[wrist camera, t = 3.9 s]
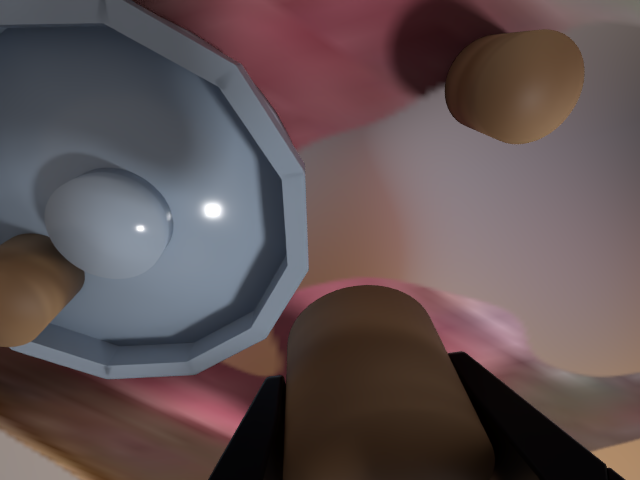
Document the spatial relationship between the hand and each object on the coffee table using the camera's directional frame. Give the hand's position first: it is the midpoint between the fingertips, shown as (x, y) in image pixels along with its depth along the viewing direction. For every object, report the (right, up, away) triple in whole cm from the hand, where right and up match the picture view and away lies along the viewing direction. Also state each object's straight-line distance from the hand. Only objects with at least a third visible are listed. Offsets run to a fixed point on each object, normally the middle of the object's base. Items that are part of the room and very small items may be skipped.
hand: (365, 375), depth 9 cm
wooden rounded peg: (-15, +2, +10) cm, 18 cm away
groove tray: (-11, +5, +10) cm, 15 cm away
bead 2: (0, 0, +1) cm, 1 cm away
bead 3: (+7, +11, +8) cm, 15 cm away
